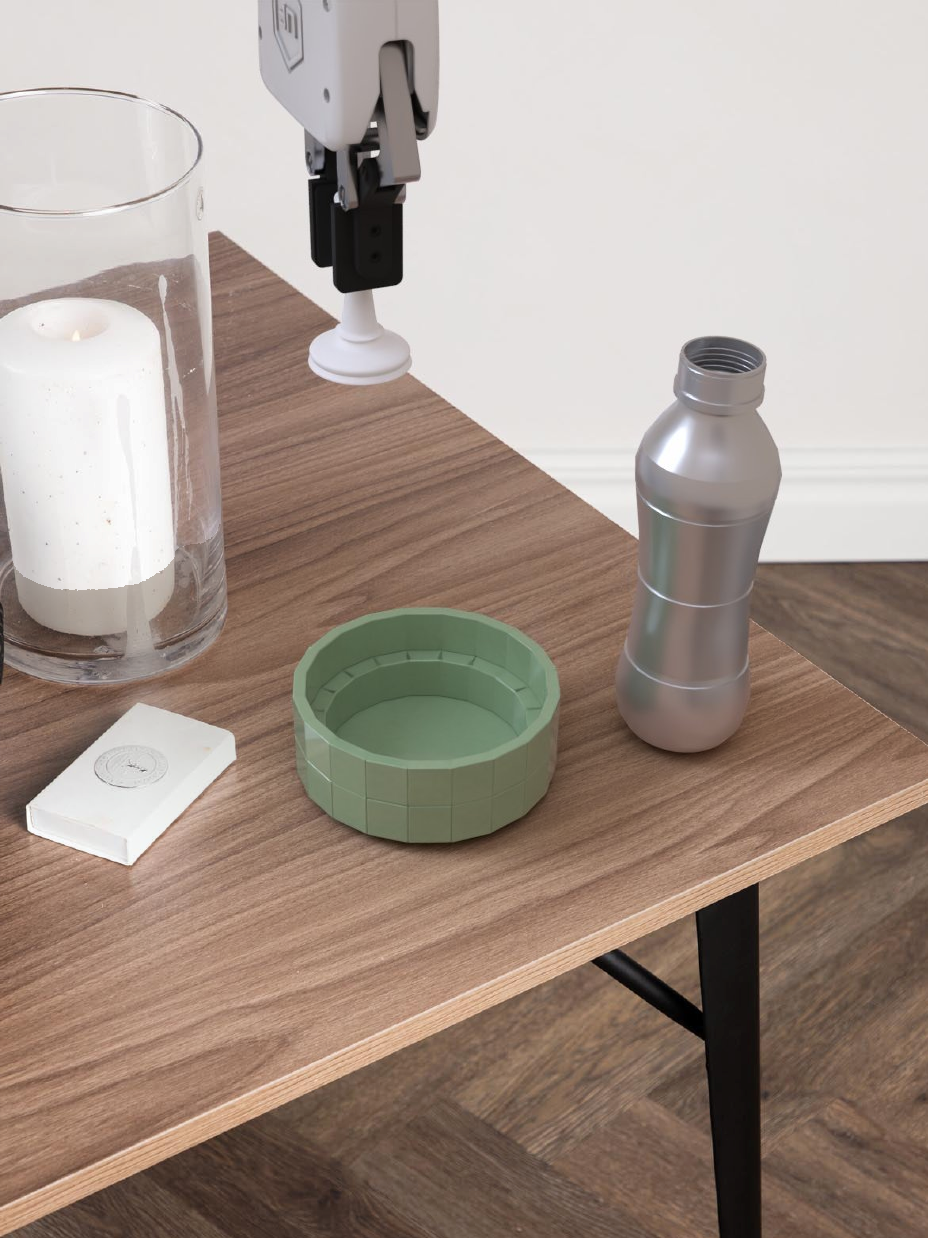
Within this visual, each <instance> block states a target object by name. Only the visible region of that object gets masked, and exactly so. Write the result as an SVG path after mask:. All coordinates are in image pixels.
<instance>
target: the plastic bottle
mask: <svg viewBox="0 0 928 1238" xmlns="http://www.w3.org/2000/svg"><path fill="white" fill-rule="evenodd" d="M678 356H679V357H678V365H677V373H675V376H674V378H673V385H672V392H673V394H674V396H675V398H676V400H675V401H673V402H672V403H671V404H670V405H669V406H668V407H667V408H665V410H664V411H662V413H661V414H660V415H659V416H658V417H657V418H656V419H655V420H654V421H653V423H652V424H651V425H650V426H649V427H648V429H647V430H646V431H645V432H644V434H643V436H642V439H641V441H640V443H639V446H638V448H637V451H636V453H635V456H634V483H635V497H636V511H637V526H638V545H637V546H638V547H637V574H636V575H637V576H636V577H637V578H636V579H637V580H636V586H635V593H634V598H633V602H632V603H633V604H632V609H631V613H630V614H631V615H630V619H629V625H628V630H627V634H626V637H625V640H624V643H623V645H622V649H621V651H620V654H619V658H618V663H617V666H616V670H615V675H614V688H615V696H616V703H617V705H616V706H617V709H618V712H619V714H620V716H621V718H622V719H623V721H624V722H625V723H626V725H627V726H628V728H629V729H630V730H631V732H633V734H635V736H637V737H638V738H639V739H641V740H642V741H643V742H645V743H647V744H649V745H651V746H653V747H656V748H659V749H662V750H665V751H670V752H674V753H687V754H689V753H699V752H704V751H708V750H711V749H714V748H716V747H718V746H719V745H721V744H723V743H724V742H725V741H727V740H728V739H730V737H732V736H733V735H734V734H735V733H736V732H737V731H738V730H739V728H740V726H741V725H742V723H743V721H744V717H745V714H746V712H747V709H748V706H749V704H750V700H751V697H752V694H751V691H752V689H751V688H752V687H751V686H752V685H751V683H752V682H751V679H752V677H751V674H752V673H751V666H750V665H751V664H750V654H749V639H750V638H749V637H750V616H751V598H752V593H753V588H754V583H755V577H756V573H757V568H758V564H759V559H760V554H761V549H762V546H763V543H764V539H765V536H766V534H767V530H768V526H769V524H770V520H771V517H772V513H773V510H774V508H775V503H776V500H777V499H778V495H779V490H780V485H781V482H782V481H781V480H782V476H783V471H782V465H781V458H780V454H779V449H778V446H777V445H776V442H775V439H774V438H773V436H772V434H771V432H770V430H769V428H768V426H767V424H766V423H765V421H764V420H763V418H762V417H761V415H760V413H759V412H758V408H759V407H760V406H761V405H762V404H763V402H764V399H765V393H766V388H765V384H764V383H765V377H766V371H767V365H768V364H767V355H766V353H765V352H764V351H763V350H762V349H761V348H760V347H758V346H757V345H755V344H753V343H751V342H749V341H747V340H743V339H741V338H736V337H732V336H726V335H706V336H705V335H704V336H699V337H695V338H693V339H689V340H688V341H686V342H685V343H684V344H683V345H682V347H681V349H680V352H679V355H678Z"/></svg>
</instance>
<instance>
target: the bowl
mask: <svg viewBox="0 0 928 1238" xmlns="http://www.w3.org/2000/svg"><path fill="white" fill-rule="evenodd" d="M561 699H562V694H561V686H560V678H559V671H558V669H557V667H556V666H555V664H554V663H553V661H552V660H551V658H550V657H549V655H548V654H547V653H546V651H545V649H544V648H543V647H542V645H540V644H539V643H537V641H535V640H533V639H532V638H530V637H529V636H528V635H527V634H526V633H524V632H523V631H521V630H519V629H518V628H517V627H516V626H512V625H510V624H508V623H505V622H503V621H500V620H498V619H495V618H493V617H490V616H488V615H485V614H482V613H477V612H473V611H467V610H461V609H456V608H450V607H445V606H443V607H442V606H436V607H435V606H434V607H433V606H429V607H428V606H422V607H421V606H418V607H417V606H416V607H415V606H413V607H412V606H409V607H406V606H405V607H398V608H393V609H388V610H383V611H377V612H372V613H367V614H363V615H362V616H361V615H360V616H359V617H357V618H354V619H351V620H350V621H347V622H345V623H343V624H340V625H338V626H335V627H333V628H332V629H330V630H329V631H327V633H325V634H324V635H323V636H322V637H320V638H319V639H317V640H316V641H315V642H313V644H311V645H310V646H309V647H308V648H307V650H306V651H305V652H304V654H303V656H302V658H301V659H300V661H299V663H298V664H297V666H296V668H295V669H294V672H293V680H292V713H293V730H294V731H293V732H294V747H295V763H296V772H297V774H298V776H299V778H300V781H301V783H302V785H303V788H304V789H305V792H306V794H307V796H308V797H309V798H310V800H312V801H313V802H314V803H315V804H316V805H318V806H319V807H320V808H321V809H322V810H323V811H324V812H325V813H326V814H327V815H328V816H330V818H332V819H334V820H335V821H337V822H340V823H342V824H344V825H347V826H348V827H351V828H353V829H354V830H357V831H359V832H361V833H363V834H365V835H368V836H372V837H378V838H381V839H386V840H387V839H388V840H391V841H397V842H402V843H409V844H424V843H425V844H431V843H432V844H433V843H434V844H435V843H437V844H438V843H456V842H460V841H464V840H465V841H466V840H469V839H473V838H477V837H481V836H485V835H490V834H492V833H494V832H496V831H498V830H500V829H502V828H504V827H505V826H507V825H509V824H511V823H513V822H515V821H517V820H519V819H521V818H523V817H524V816H526V814H527V813H528V812H529V811H530V810H532V808H533V807H534V806H535V805H536V804H537V803H538V802H539V801H540V800H541V799H542V798H543V797H544V796H545V795H546V794H547V792H548V789H549V787H550V785H551V784H550V783H551V781H552V779H553V776H554V773H555V771H556V767H557V755H558V744H559V743H558V741H559V726H560V715H561V713H560V711H561V701H562V700H561Z"/></svg>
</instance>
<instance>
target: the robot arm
mask: <svg viewBox="0 0 928 1238" xmlns="http://www.w3.org/2000/svg"><path fill="white" fill-rule="evenodd" d="M439 12H440V10H439V0H257V30H258V31H257V39H258V40H257V41H258V66H259V73H260V77H261V81H262V82H263V85H264V87H265V88H266V89H267V91H268V92H269V93H270V94H271V96H273V97H274V99H275V100H276V101H277V102H278V103H279V104H280V105H281V106H282V107H283V108H284V109H285V110H286V111H287V112H288V114H289V115H290V116H292V118H294V120H296V122H297V123H299V124H300V125H301V127H303V133H304V161H305V166H306V170H307V173H308V174H309V176H310V177H316V178H308V179H307V189H308V213H309V214H308V217H309V240H310V241H309V242H310V258H311V261H312V262H313V263H314V264H315V266H316V267H317V268H320V269H324V268H330V267H331V268H332V283H333V287H334V288H335V289H336V290H337V291H338V292H339V293H341V294H345V293H351V292H358V291H364V290H370V289H372V290H376V289H382V288H389V287H396V286H398V285H400V284H401V283H402V282H403V279H404V203H405V202H406V200H407V184H409V183H417V182H419V181H420V180H421V178H422V167H421V161H420V153H419V147H418V141H421V142H422V141H426V140H427V138H429V137H430V136H431V135H432V133H434V130H435V128H436V125H437V121H438V112H439V111H438V109H439V97H440V13H439ZM371 123H376V126H373V127H371V125H372V124H371ZM376 151H379V153H378V154H377V155H375V156H373V157H372V152H376ZM361 152H363V161H362V163H361V165H360V166H359V168H358V154H357V153H361ZM317 176H319V177H317ZM337 192H338V197H339V202H338V203H335V202H334V196H335V194H336V193H337Z"/></svg>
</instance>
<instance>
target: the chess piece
mask: <svg viewBox="0 0 928 1238" xmlns="http://www.w3.org/2000/svg"><path fill="white" fill-rule="evenodd" d="M357 154H358V168H359V166H360V165H361V163H362V161H363V152H361V153H357ZM334 202H335V203H338V202H339V197H338V192H337V193H336V194H335V196H334ZM375 307H376V306H375V302H374V294H373V289H370V290H364V291H358V292H351V293H344V299H343V309H342V317H341V320H340V321H341V322H339V323H338V324H336V325H335V328H331V329H329V330H326V331H324V332H322V333H321V334H319V335H317V336H316V337H315V338H314V339H312V341H311V343H310V345H309V355H308V359H307V364H308V367H309V369H310V370H311V371H312V372H313V373H314V374H315V375H317V376H318V377H320V378H321V379H324V380H326V381H329V382H332V383H336V384H341V385H347V386H358V387H359V386H362V387H363V386H364V387H365V386H375V385H381V384H386V383H389V382H390V383H391V382H392V381H395V380H397V379H399V378H401V377H402V376H404V375H405V374H406V373H408V372H409V370H410V369H411V367H412V364H413V359H412V356H411V347H410V344H409V342H408V341H407V340H406V339H405V338H404V337H402V336H401V335H400V334H398V333H397V332H395V331H392V330H390V329H387V328H384V326H383V325H382V324H381V323H380V322H378V319H377V314H376V308H375Z"/></svg>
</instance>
